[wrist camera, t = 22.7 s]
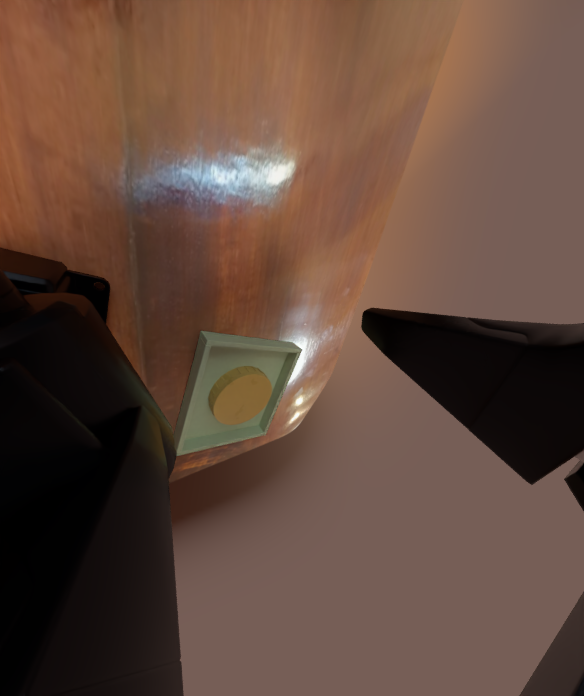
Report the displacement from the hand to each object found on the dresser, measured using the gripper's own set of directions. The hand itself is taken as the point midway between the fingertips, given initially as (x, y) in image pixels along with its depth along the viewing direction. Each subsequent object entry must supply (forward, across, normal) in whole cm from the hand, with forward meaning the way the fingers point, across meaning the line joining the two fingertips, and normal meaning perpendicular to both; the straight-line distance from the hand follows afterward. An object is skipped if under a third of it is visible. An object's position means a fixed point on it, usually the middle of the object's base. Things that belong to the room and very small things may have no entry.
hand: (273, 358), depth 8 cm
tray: (+12, +2, +12) cm, 18 cm away
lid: (+10, +1, +13) cm, 16 cm away
